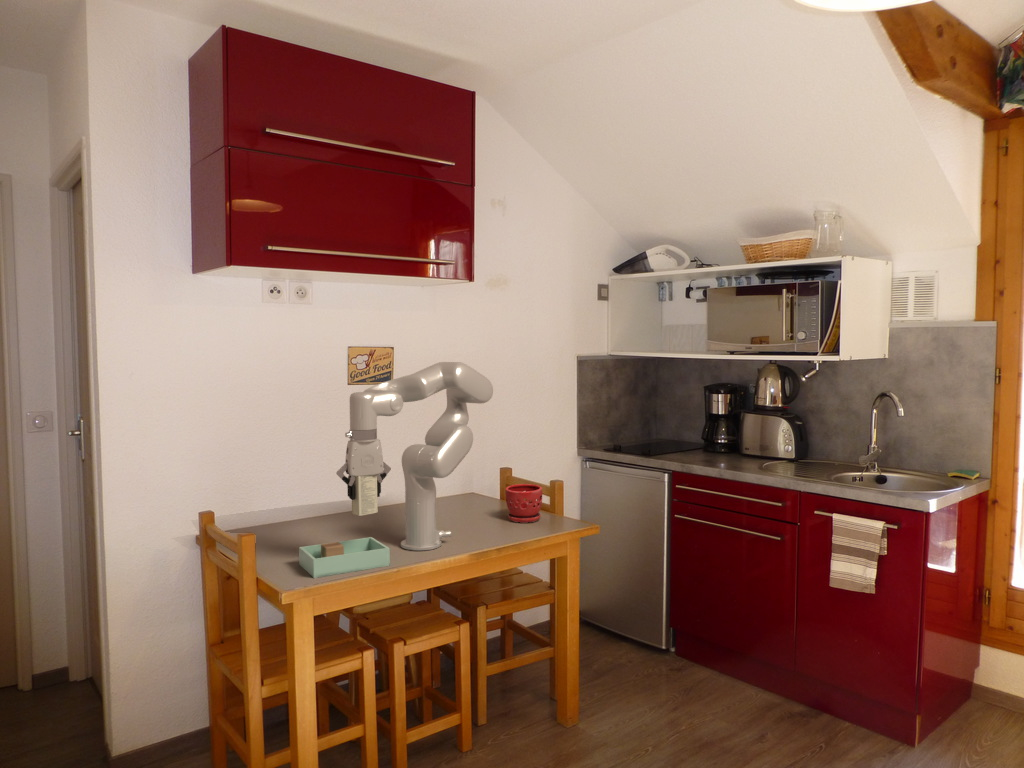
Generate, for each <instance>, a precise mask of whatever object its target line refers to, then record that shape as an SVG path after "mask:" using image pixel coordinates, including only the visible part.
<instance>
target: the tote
mask: <svg viewBox="0 0 1024 768" xmlns="http://www.w3.org/2000/svg"><path fill="white" fill-rule="evenodd" d="M338 542H339V543H340V544H342V545H343V546H344V554H343V555H336V556H329V557H323V558H321V544H322V543H320V544H312V545H307V546H306V545H305V546H299V547H298V555H299V556H298V560H299V561H298V562H299V566H300V567H301V568H302V569H303V570H305V571H306V573H308V574H309V575H310V576H311V577H312V578H314V579H317V578H324V577H328V576H329V577H330V576H335V575H341V574H346V573H347V574H349V573H353V572H360V571H366V570H373V569H377V568H378V569H379V568H384V567H389V566H391V560H390V559H391V555H390V553H391V550H390V549H391V548H390V547H388V546H387V545H385V544H384V543H382V542H381V541H379V540H377V539H376V538H374V537H372V536H369V537H362V538H356V539H355V538H354V539H350V540H349V539H348V540H347V539H346V540H342V541H341V540H339V541H338ZM327 543H328V542H326V543H324V544H327ZM331 543H334V542H331Z"/></svg>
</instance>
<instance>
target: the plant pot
mask: <svg viewBox="0 0 1024 768" xmlns="http://www.w3.org/2000/svg"><path fill="white" fill-rule="evenodd" d="M505 502H506V506H507V511H509V513H508V515H507V516H508V518H509V520H510V521H511V522H513V523H514V522H515V523H518V522H520V524H529V523H528V522H530V523H535V522H537V521H539V520H540V519H541V513H540V511H541V509H542V504H543V503H542V502H543V487H542V486H540V485H538V484H529V483H521V484H520V483H518V484H512V485H509V486H507V487H505Z"/></svg>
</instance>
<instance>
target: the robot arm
mask: <svg viewBox="0 0 1024 768" xmlns="http://www.w3.org/2000/svg"><path fill="white" fill-rule="evenodd" d="M493 387H494V386H493V384H492V381H491V380H490V379H489V378H488V377H486V376H485V375H483V374H482V373H480V371H477V370H476V369H474V368H473V367H472V366H470V365H468V364H466V363H465V362H460V361H456V362H455V361H440V362H436V363H433V364H432V365H429V366H427V367H424V368H422V369H420V370H419V371H416V372H414V373H411V374H409V375H405V376H400V377H397V378H393V379H389V380H387V381H386V380H385V381H383V382H380V383H377V384H375V385H373V386H371V387H368V388H366V389H364V390H363V391H359V392H352V393H351V394H350V396H349V431H347V432H345V433H344V436H345V438H349V440H348V441H347V445H346V451H345V461H344V462H345V463H344V464H342V466H341V467H340V468H339V469H338V470H337V471H336V472H335V473H336V475H337V476H338V477H339V479H341V480H342V482H344V483H345V484H346V485H347V487H346V488H347V497H348V498H349V499H350V500H351V501H352V500H354V499H355V486H354V485H353V483H354V481H355V478H356V477H358V476H370V475H377V498H379V497H381V493H382V483H383V481H384V479H385V478H386V477H387V476H388V474H389V473H390V472H391V469H392V468H391V467H390V466H389V465H388V464H387V463H386V462H384V457H383V448H382V443H381V439H379V438H378V426H377V424H378V422H377V419H378V417H380V416H381V417H393V416H396V415H398V414H399V413H400V412H401V411H402V410H403V407H404V403H411V402H418V401H419V402H420V401H423V400H425V399H427V398H429V397H431V396H433V395H435V394H438V393H439V392H442V391H443V390H445V391H446V393H445V394H446V408H445V410H444V411H443V413H442V414H441V415H440V417H438V419H437V420H436V421H435V422H434V423H433V424H432V425H431V427H430V428H429V429H428V430H427V432H426V434H425V437H424V443H425V444H421V443H420V444H419V443H415V444H411V445H409V446H407V447H406V448H405V449H404V451H403V452H402V455H401V467H402V471H403V473H402V474H403V477H404V487H405V488H404V489H405V490H404V491H405V492H404V493H405V495H404V497H405V499H404V500H405V502H404V503H405V504H404V505H405V510H404V511H405V539H403V540H401V542H400V547H401V548H402V549H405V550H408V551H419V552H420V551H422V552H423V551H430V550H434V549H439V548H440V547H441V546H442V545H443V544H442V540H441V539H443V538H448V537H451V536H452V532H451V530H445V531H444V530H442V529H441V530H439V529H437V487H436V483H435V480H434V478H435V479H444V478H447V477H448V476H450V475H451V474H452V473H453V472H454V471H455V469H456V468H457V467H458V466H459V465H460V463H461V462H463V460H464V458H465V457H466V456H467V455H468V453H470V451H471V448H472V446H473V442H474V433H473V431H472V429H471V428H470V426H468V423H469V420H470V418H469V412H468V407H467V406H468V405H467V404H479V405H480V404H481V405H482V404H485V403H488V402H489V401H490V400H491V399H492V397H493V394H494V388H493ZM345 473H346V475H348V476H346V475H345Z"/></svg>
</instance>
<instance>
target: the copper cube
mask: <svg viewBox="0 0 1024 768" xmlns="http://www.w3.org/2000/svg"><path fill="white" fill-rule="evenodd" d="M339 542H340V541H335V542H334V543H332V542H326V543H327V544H325V543H320V544H321V558H323V557H329V556H336V555H343V554H344V546H343V545H342V544H340V543H339Z"/></svg>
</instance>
